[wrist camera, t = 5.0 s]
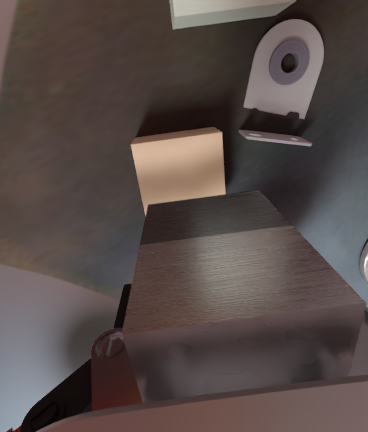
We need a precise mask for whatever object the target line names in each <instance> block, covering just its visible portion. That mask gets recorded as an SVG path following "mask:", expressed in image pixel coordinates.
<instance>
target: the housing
mask: <svg viewBox="0 0 368 432" xmlns="http://www.w3.org/2000/svg"><path fill="white" fill-rule="evenodd" d="M365 305H366V302H365V301H364V300H363V299H362V298H361V297H360V296H359V295H358V294H357V293H356V292H355V291H354V290H353V289H352V288H351V286H350V285H349V284H348V283H347V282H346V281H345V280H344V279H343V278H342V277H341V276H340V275H339V274H338V273H337V272H336V271H335V270H334V269H333V268H332V266H331V265H330V264H329V263H328V262H327V261H326V260H325V259H324V258H323V257H322V256H321V255H320V254H319V253H318V252H317V251H316V250H315V249H314V247H313V246H312V245H311V244H310V243H309V242H308V241H307V240H306V239H305V238H304V237H303V236H302V235H301V234H300V233H299V232H298V231H297V230H296V229H295V227H294V226H293V225H292V224H291V223H290V222H289V221H288V220H287V219H286V218H285V217H284V216H283V215H282V214H281V213H280V212H279V211H278V210H277V209H276V207H275V206H274V205H273V204H272V203H271V202H270V201H269V200H268V199H267V198H266V197H265V196H264V195H263V194H262V193H261V192H260V191H259V190H255V191H247V192H240V193H232V194H225V195H217V196H209V197H202V198H194V199H187V200H179V201H172V202H164V203H156V204H149V205H148V208H147V213H146V218H145V222H144V227H143V232H142V237H141V242H140V247H139V252H138V257H137V261H136V266H135V271H134V276H133V281H132V286H131V291H130V296H129V301H128V305H127V310H126V315H125V320H124V325H123V330H122V337H123V340H124V344H125V347H126V350H127V353H128V356H129V359H130V363H131V366H132V369H133V372H134V375H135V378H136V382H137V385H138V388H139V391H140V394H141V398H144V401H145V403H146V402H153V401H160V400H168V399H176V398H183V397H191V396H198V395H206V394H213V393H221V392H229V391H237V390H245V389H253V388H261V387H269V386H277V385H285V384H293V383H301V382H309V381H317V380H326V379H334V378H342V377H347V375H348V372H350V371H351V367H352V362H353V358H354V354H355V349H356V345H357V340H358V336H359V332H360V327H361V323H362V319H363V314H364V310H365Z"/></svg>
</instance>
